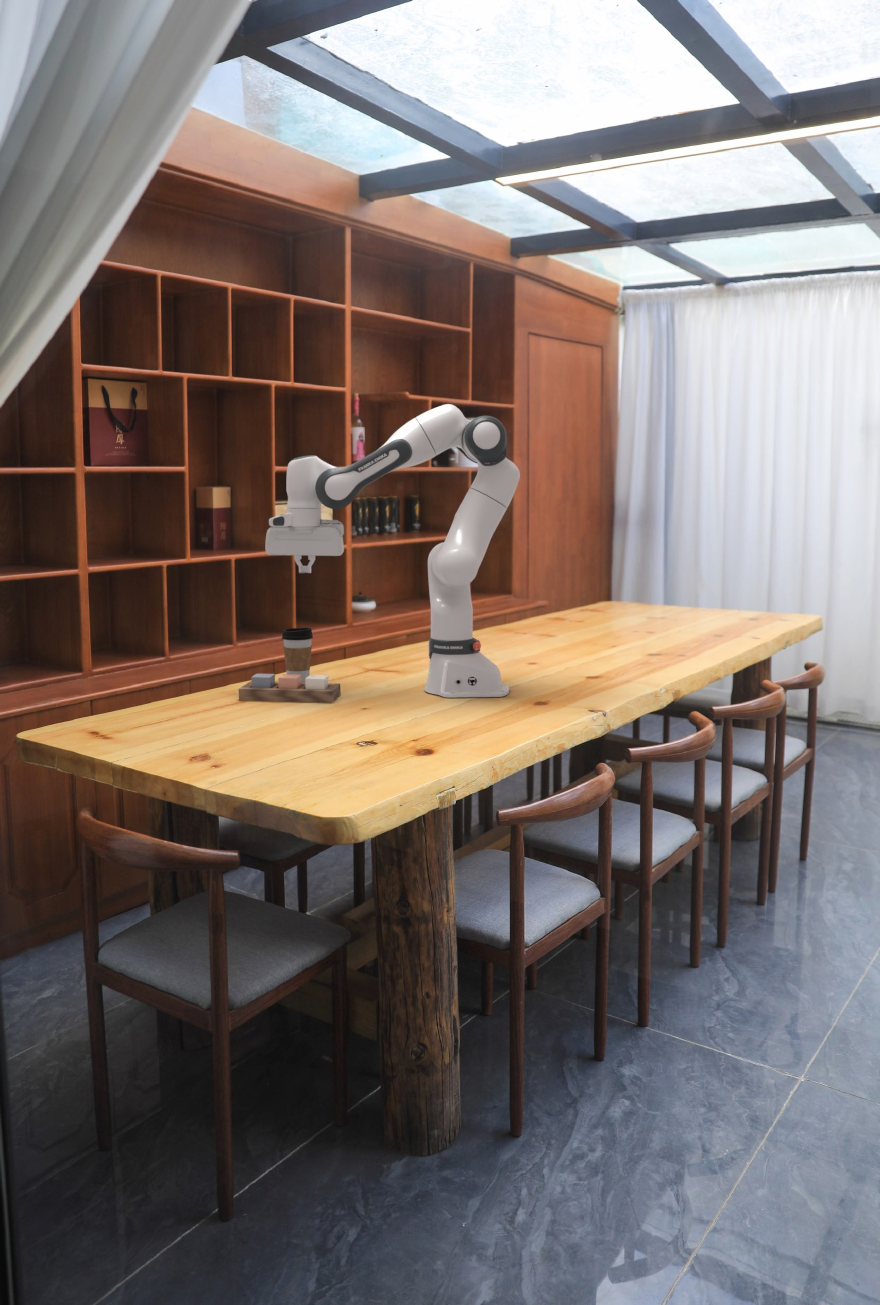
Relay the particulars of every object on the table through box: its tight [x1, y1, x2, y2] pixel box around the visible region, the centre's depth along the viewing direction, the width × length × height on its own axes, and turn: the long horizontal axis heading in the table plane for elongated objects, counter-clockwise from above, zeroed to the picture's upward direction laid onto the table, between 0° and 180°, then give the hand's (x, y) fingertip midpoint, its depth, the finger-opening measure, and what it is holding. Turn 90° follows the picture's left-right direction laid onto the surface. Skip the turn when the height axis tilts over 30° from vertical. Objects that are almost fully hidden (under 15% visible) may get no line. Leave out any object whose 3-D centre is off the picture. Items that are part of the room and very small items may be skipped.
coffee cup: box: [281, 627, 314, 683], centre depth 279 cm, size 8×8×15 cm
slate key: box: [250, 673, 276, 688], centre depth 261 cm, size 5×5×4 cm
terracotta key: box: [277, 673, 302, 689], centre depth 260 cm, size 5×5×4 cm
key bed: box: [238, 680, 341, 704], centre depth 260 cm, size 24×10×3 cm, turn 84°
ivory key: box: [305, 674, 329, 690], centre depth 259 cm, size 5×5×4 cm
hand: (305, 572), depth 265 cm, fingers closed
